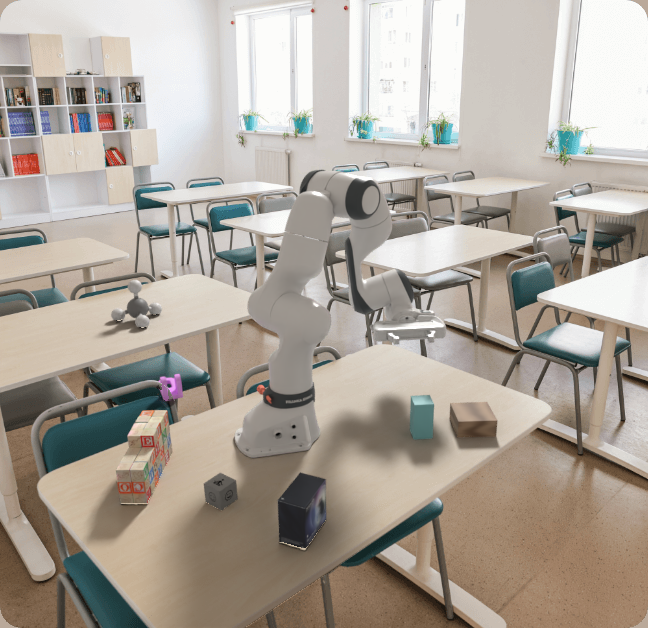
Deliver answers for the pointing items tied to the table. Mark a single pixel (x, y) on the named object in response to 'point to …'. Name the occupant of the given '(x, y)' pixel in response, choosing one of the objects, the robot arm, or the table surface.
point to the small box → (302, 510)
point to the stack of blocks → (144, 457)
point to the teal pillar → (421, 417)
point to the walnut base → (473, 419)
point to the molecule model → (137, 307)
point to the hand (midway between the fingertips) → (414, 341)
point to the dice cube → (220, 491)
